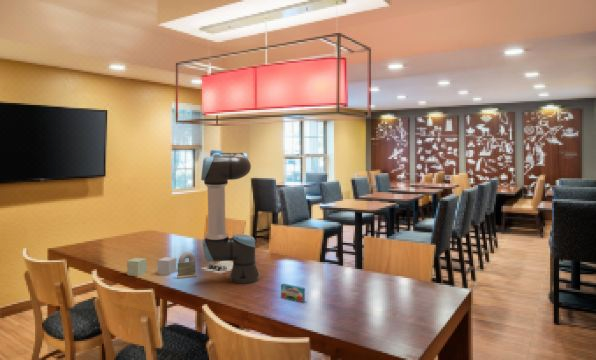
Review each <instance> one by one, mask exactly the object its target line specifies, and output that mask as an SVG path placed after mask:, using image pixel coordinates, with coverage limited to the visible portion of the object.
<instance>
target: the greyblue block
mask: <svg viewBox="0 0 596 360" xmlns="http://www.w3.org/2000/svg"><path fill="white" fill-rule="evenodd" d="M175 273H177V258H176V257H171V256H164V257H162V258H160V259H157V275H159V276H162V275H163V276H171V275H173V274H175Z"/></svg>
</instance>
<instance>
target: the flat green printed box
mask: <svg viewBox="0 0 596 360" xmlns="http://www.w3.org/2000/svg"><path fill="white" fill-rule="evenodd" d="M305 290H306V287H301V286H298V285H294V284H293V285H292V284H288V283H281V284H280V297H281V298H282V297H283V299H286V300H292V301H295V300H296V302H299V301H300V303H304V302H305V298H306V293H305Z"/></svg>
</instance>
